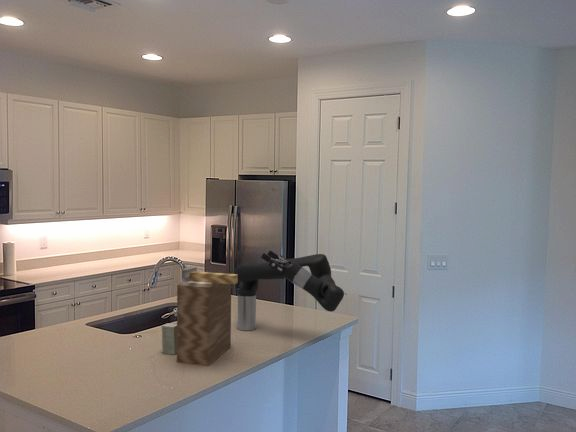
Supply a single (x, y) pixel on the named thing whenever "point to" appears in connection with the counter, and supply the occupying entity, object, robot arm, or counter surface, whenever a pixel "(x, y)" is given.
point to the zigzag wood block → (203, 321)
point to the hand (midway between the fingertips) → (265, 253)
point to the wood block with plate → (207, 276)
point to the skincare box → (169, 338)
